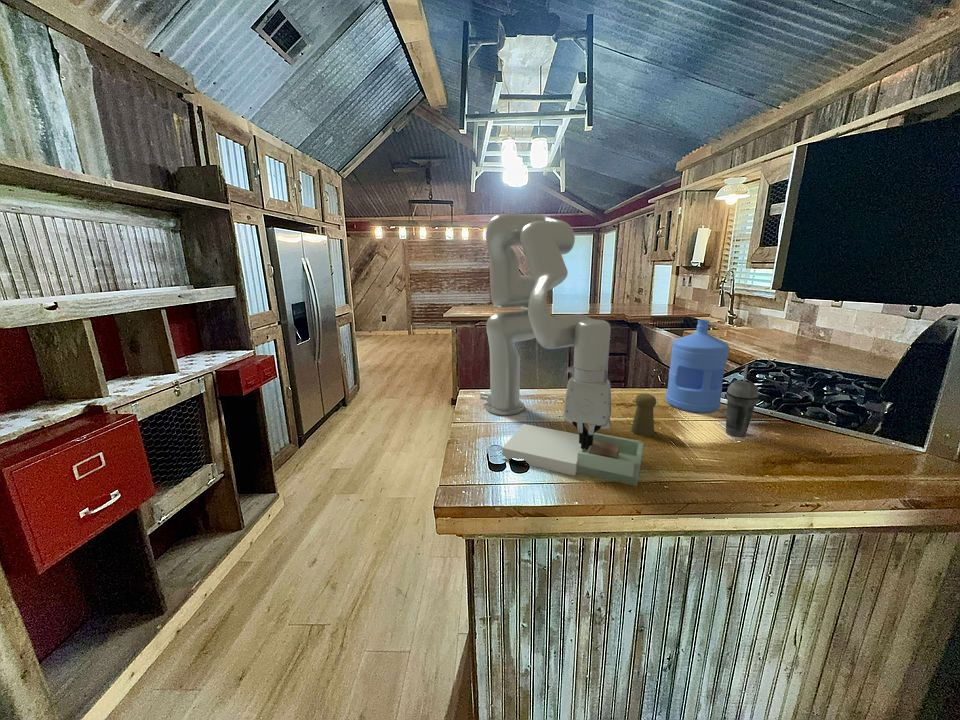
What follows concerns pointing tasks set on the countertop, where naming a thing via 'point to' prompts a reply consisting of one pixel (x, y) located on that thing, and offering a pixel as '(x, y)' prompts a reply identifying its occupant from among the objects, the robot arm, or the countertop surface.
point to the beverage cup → (740, 406)
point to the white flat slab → (545, 448)
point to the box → (613, 460)
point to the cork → (644, 415)
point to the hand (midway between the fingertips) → (585, 446)
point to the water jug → (697, 371)
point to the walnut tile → (605, 449)
